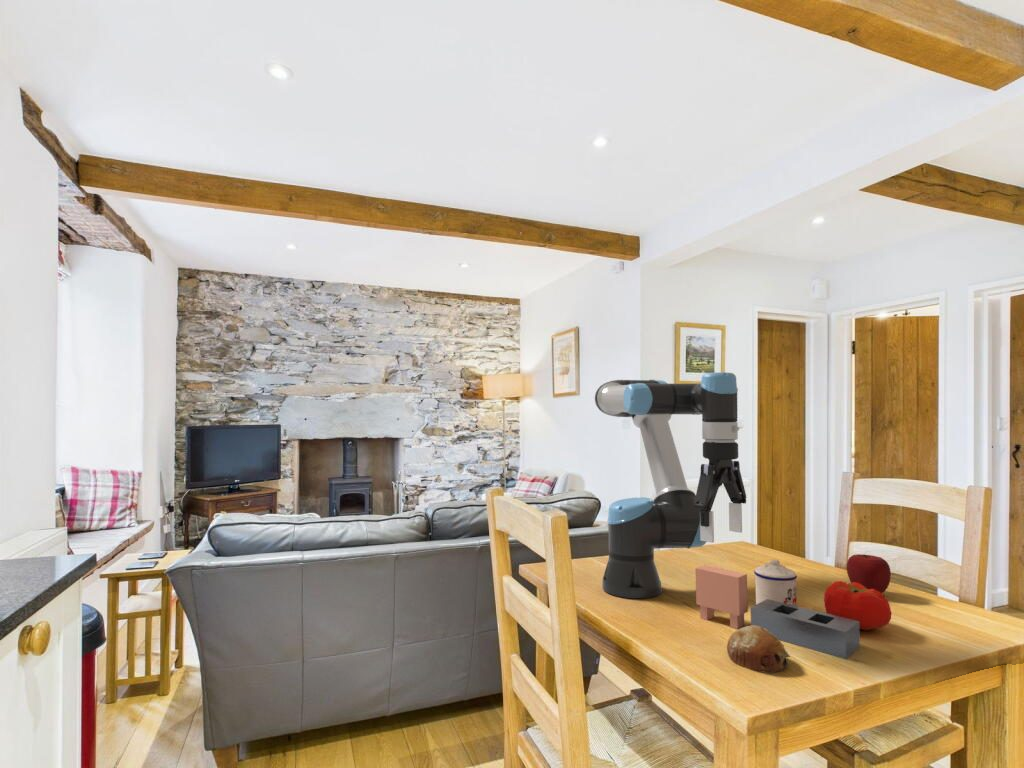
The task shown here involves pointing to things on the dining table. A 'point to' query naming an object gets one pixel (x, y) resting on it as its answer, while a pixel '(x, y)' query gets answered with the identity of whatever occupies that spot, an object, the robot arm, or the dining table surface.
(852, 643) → the grey rectangular block
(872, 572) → the apple
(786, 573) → the teacup with lid
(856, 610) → the tomato
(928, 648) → the dining table surface
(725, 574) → the chamfered pink post
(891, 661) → the dining table surface
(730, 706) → the dining table surface
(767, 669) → the bread roll
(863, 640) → the dining table surface
